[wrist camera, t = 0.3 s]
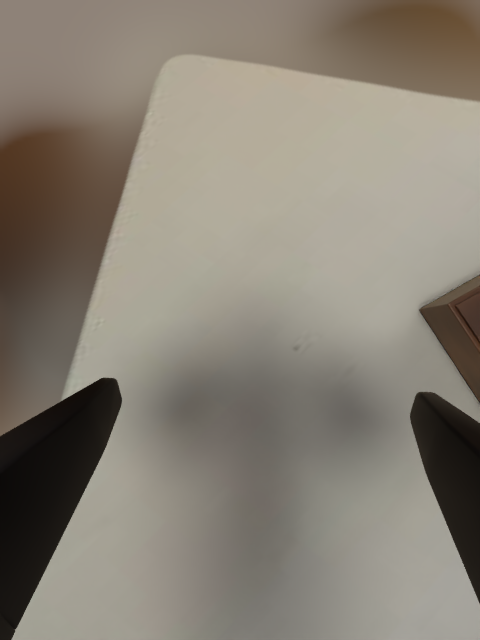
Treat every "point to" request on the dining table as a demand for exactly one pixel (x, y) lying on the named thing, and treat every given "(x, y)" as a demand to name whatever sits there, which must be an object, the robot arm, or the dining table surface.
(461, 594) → the dining table surface
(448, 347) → the walnut block
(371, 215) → the dining table surface
